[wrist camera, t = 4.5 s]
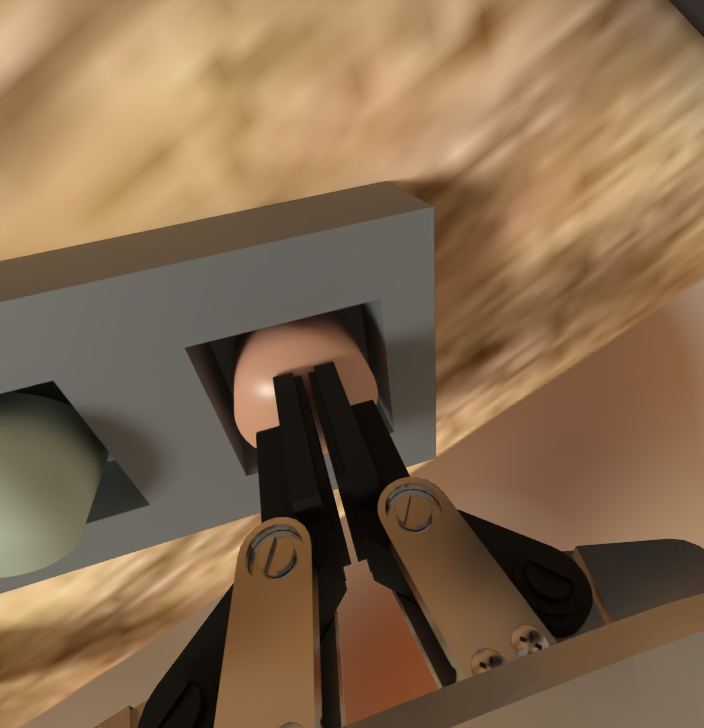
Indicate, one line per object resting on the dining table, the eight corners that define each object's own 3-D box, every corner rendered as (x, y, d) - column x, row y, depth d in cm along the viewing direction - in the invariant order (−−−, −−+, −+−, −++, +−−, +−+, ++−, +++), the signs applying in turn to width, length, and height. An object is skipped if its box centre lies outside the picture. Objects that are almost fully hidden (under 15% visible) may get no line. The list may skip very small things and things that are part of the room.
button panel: (-622, 391, 9) (-1033, 530, 6) (385, 181, 12) (434, 206, 9) (-216, 576, 14) (-328, 695, 11) (402, 399, 17) (436, 457, 14)
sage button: (-111, 417, 9) (-208, 507, 7) (60, 375, 10) (15, 447, 8) (0, 509, 12) (-50, 596, 10) (133, 472, 12) (113, 546, 10)
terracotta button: (215, 320, 11) (211, 370, 9) (345, 288, 12) (369, 329, 10) (254, 417, 14) (258, 473, 12) (361, 387, 14) (383, 436, 12)
